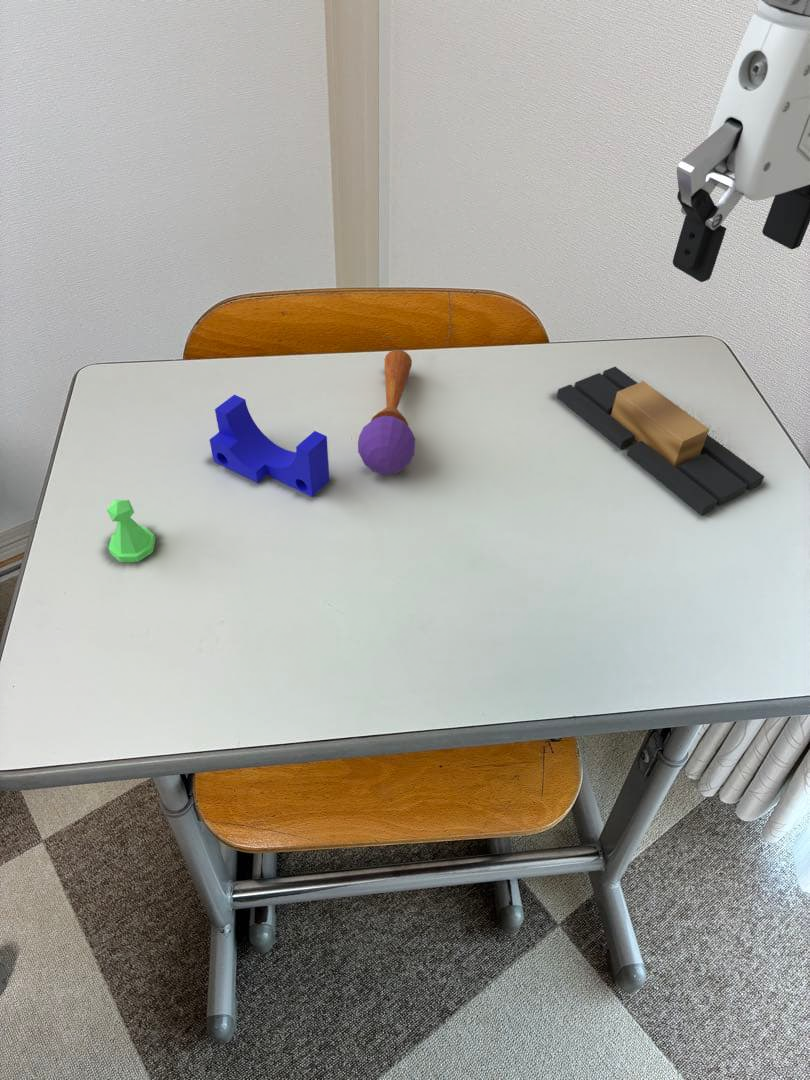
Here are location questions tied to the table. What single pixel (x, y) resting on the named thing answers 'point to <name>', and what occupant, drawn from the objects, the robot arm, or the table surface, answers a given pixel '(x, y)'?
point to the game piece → (128, 534)
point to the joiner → (659, 423)
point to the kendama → (389, 423)
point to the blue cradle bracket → (267, 451)
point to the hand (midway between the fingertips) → (736, 256)
